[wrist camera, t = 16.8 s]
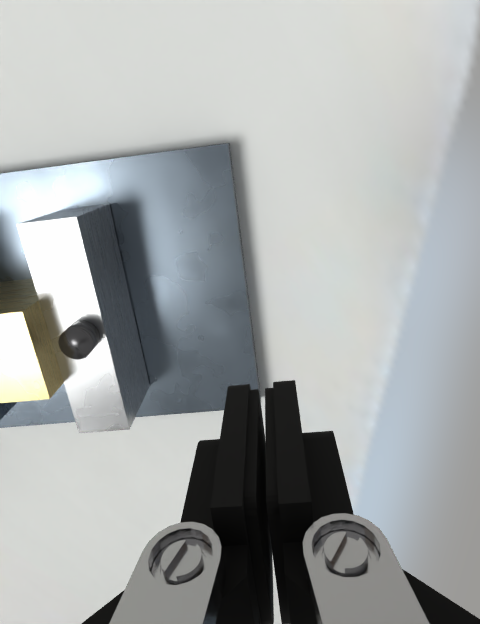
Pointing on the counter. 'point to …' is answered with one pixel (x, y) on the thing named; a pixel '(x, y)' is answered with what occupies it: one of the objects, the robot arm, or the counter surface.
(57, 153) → the counter surface
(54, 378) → the brass block
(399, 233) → the counter surface
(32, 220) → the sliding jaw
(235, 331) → the vise
